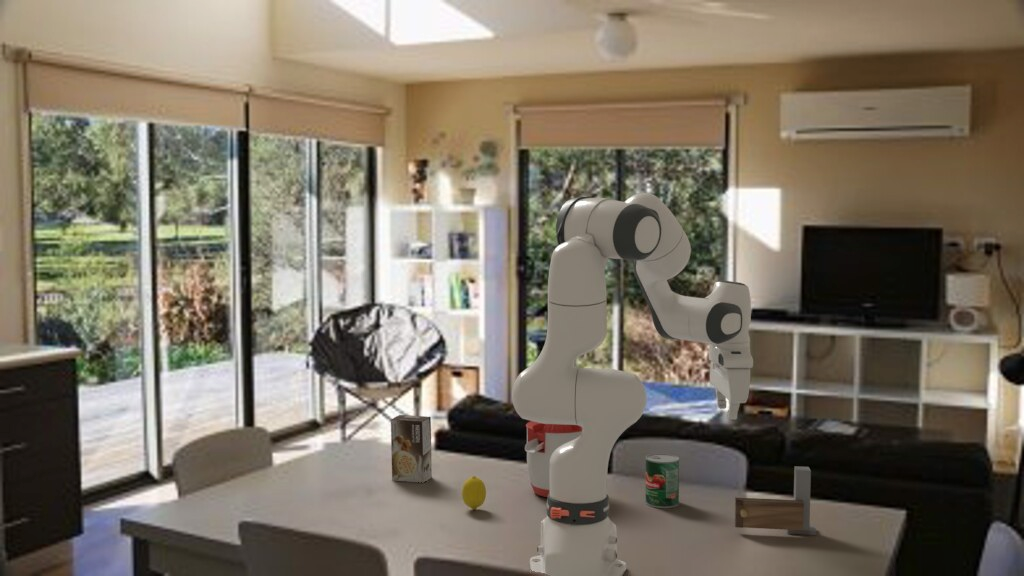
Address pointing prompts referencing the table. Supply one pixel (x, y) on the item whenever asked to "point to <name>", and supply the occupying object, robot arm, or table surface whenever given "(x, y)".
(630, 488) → the table surface
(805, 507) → the gatepost
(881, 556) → the table surface
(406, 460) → the coffee box
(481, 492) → the lemon
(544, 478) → the citrus juicer
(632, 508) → the table surface
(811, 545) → the table surface
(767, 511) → the gate leaf
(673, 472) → the canned tomato
